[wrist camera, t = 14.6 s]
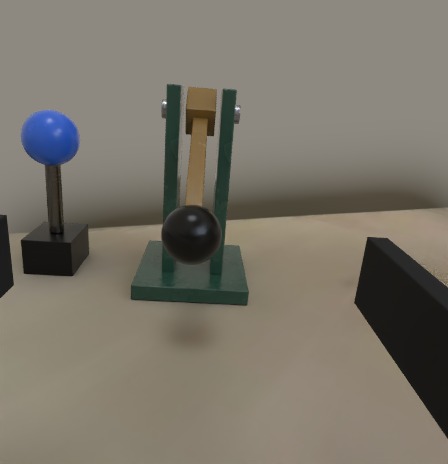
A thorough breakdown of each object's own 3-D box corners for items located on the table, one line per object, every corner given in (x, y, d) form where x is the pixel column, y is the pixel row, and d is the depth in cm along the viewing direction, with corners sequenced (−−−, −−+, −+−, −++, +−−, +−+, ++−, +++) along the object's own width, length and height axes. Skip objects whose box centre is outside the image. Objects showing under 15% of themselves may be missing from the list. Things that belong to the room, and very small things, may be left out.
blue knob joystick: (91, 253, 39) (86, 110, 34) (74, 276, 34) (67, 113, 30) (44, 251, 38) (33, 106, 34) (21, 273, 34) (5, 108, 29)
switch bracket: (247, 305, 31) (270, 91, 26) (130, 299, 31) (131, 80, 26) (238, 256, 41) (253, 92, 36) (149, 251, 40) (151, 83, 35)
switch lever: (218, 277, 25) (223, 243, 22) (159, 274, 24) (156, 239, 22) (222, 121, 34) (226, 82, 31) (179, 117, 34) (179, 78, 31)
